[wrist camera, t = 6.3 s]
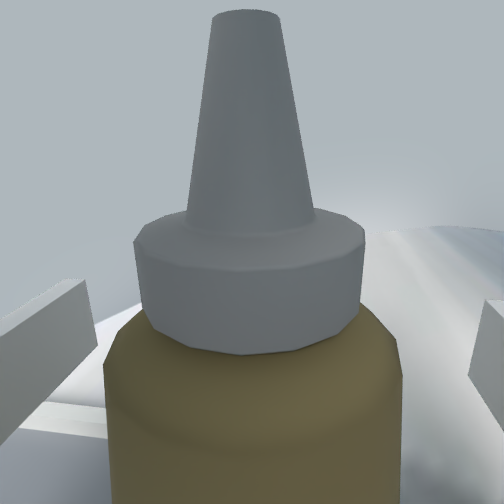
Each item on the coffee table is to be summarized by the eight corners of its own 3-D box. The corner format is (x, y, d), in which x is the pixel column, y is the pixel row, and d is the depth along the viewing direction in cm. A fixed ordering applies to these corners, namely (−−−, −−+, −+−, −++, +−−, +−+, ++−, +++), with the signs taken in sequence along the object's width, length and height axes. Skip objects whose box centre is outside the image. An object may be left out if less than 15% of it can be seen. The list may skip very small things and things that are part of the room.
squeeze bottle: (355, 513, 16) (407, 56, 9) (424, 883, 8) (917, -228, 2) (176, 501, 16) (120, 66, 10) (84, 833, 9) (-357, -115, 3)
